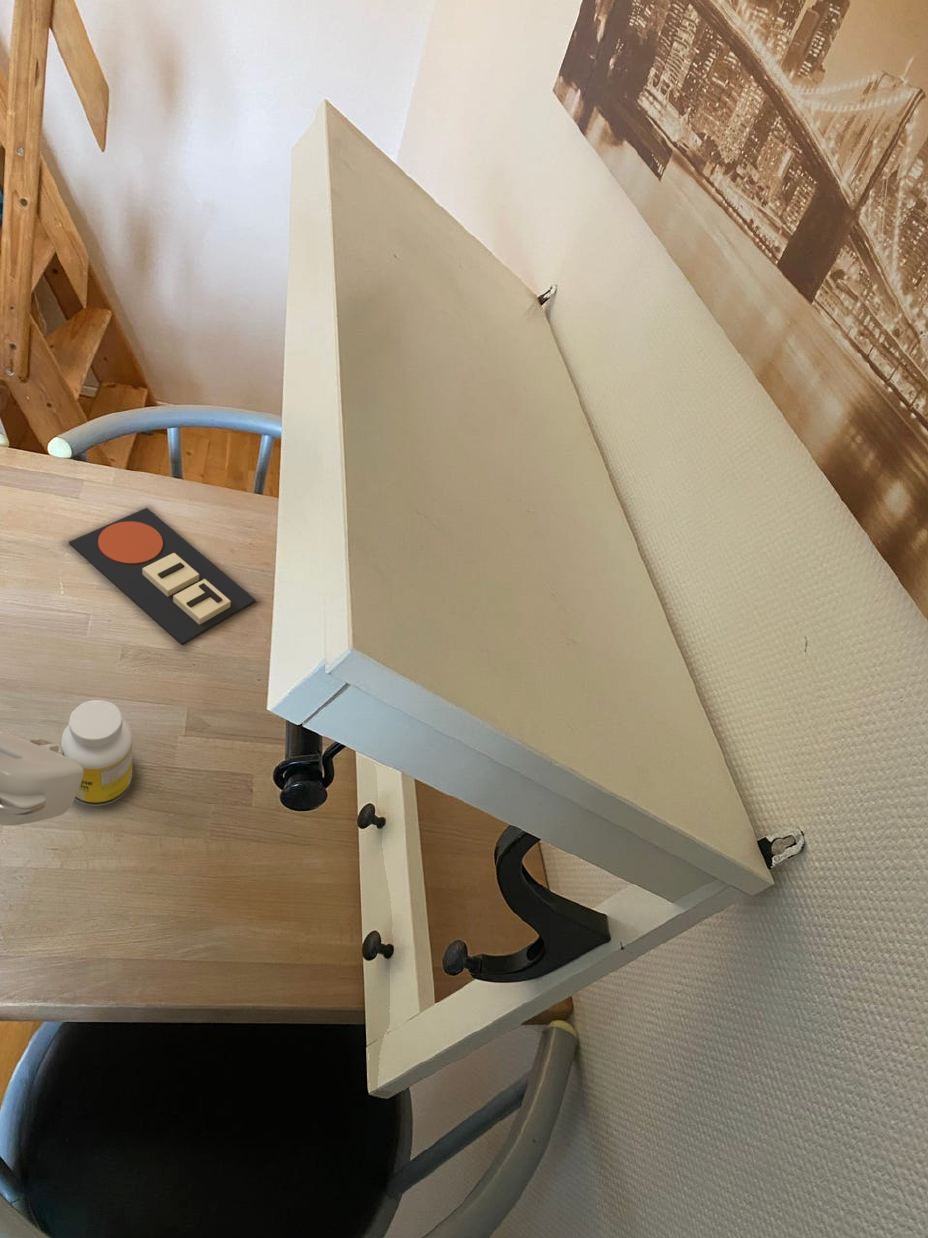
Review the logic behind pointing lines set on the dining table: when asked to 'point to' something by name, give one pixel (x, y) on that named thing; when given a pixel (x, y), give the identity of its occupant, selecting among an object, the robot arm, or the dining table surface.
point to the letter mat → (163, 574)
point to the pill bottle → (99, 751)
